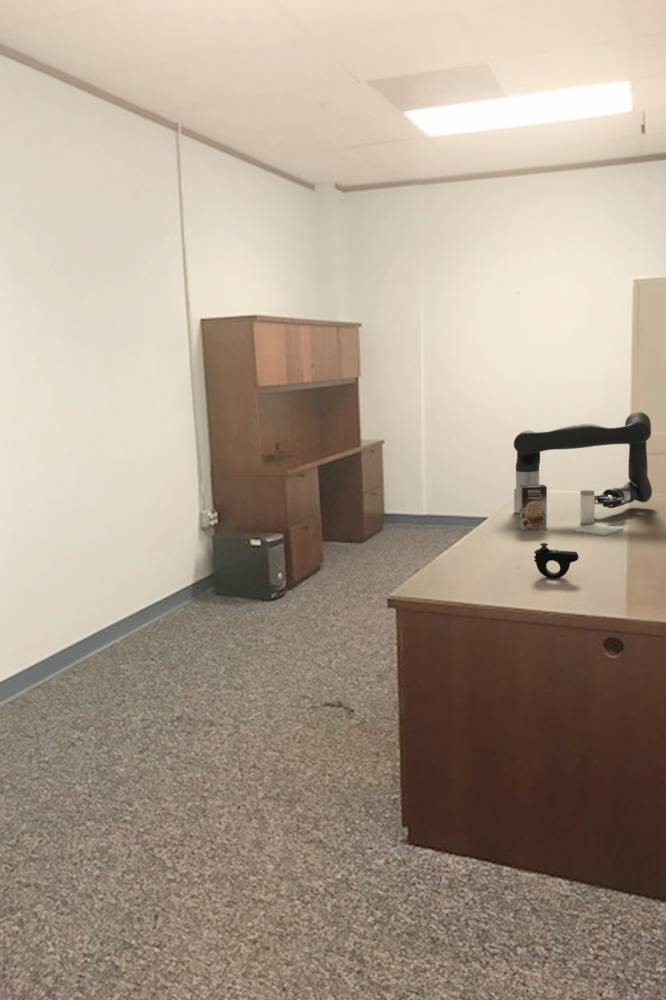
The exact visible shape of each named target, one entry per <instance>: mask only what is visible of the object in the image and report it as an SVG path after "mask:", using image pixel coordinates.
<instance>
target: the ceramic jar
mask: <svg viewBox="0 0 666 1000" xmlns="http://www.w3.org/2000/svg"><path fill="white" fill-rule="evenodd" d="M594 495H595V490H592V489H591V490H589V489H584V490H582V489H581V490H580V499H579V501H580V503H579V504H580V507H579V508H580V510H579V511H580V513H579V514H580V518H579V519H580V522H581V523H580V524H583V523H587V524H586V525H590V524H589V523H593V524H595V504H594Z"/></svg>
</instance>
